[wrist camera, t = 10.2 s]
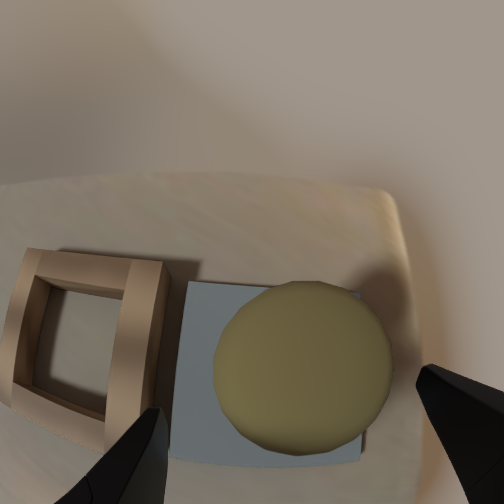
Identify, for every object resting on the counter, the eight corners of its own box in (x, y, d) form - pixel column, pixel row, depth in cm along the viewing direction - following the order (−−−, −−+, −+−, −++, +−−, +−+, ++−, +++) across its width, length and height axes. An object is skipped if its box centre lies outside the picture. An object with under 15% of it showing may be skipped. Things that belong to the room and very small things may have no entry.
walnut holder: (149, 456, 13) (137, 464, 11) (14, 400, 13) (-5, 397, 11) (171, 276, 19) (162, 261, 17) (42, 261, 19) (27, 247, 17)
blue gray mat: (355, 458, 13) (359, 460, 13) (172, 454, 13) (169, 457, 13) (356, 296, 19) (360, 292, 18) (190, 285, 19) (188, 281, 18)
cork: (199, 379, 15) (134, 359, 6) (268, 314, 17) (306, 208, 8) (271, 444, 13) (321, 522, 4) (337, 375, 16) (456, 341, 6)
